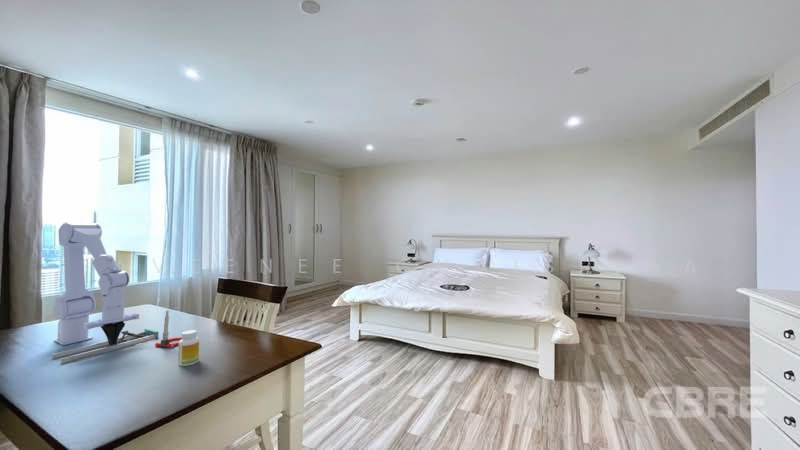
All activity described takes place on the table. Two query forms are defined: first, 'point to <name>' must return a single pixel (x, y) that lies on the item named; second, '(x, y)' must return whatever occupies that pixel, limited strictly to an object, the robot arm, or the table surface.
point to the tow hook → (165, 340)
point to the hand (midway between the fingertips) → (112, 344)
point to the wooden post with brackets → (130, 335)
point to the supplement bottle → (188, 348)
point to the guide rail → (151, 336)
